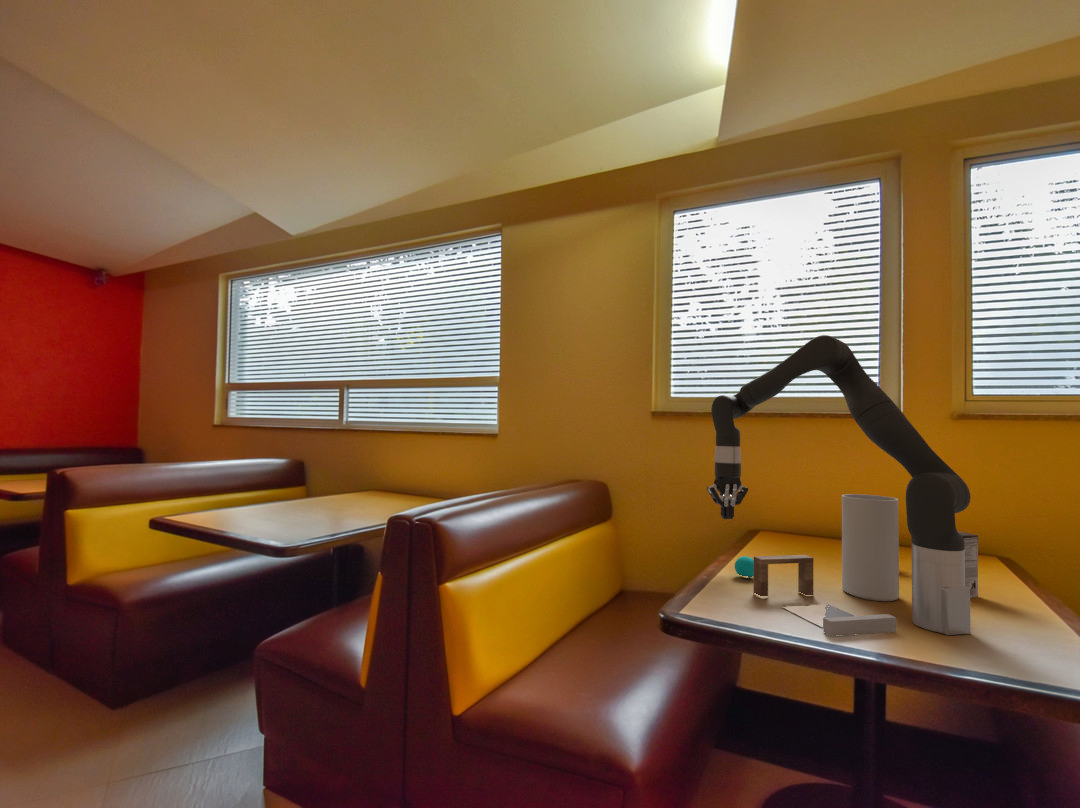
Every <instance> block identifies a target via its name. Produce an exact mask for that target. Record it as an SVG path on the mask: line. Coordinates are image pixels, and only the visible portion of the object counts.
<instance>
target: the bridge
mask: <svg viewBox="0 0 1080 808" xmlns="http://www.w3.org/2000/svg"><path fill="white" fill-rule="evenodd" d="M753 560H754V576H753V594H754V593H756V594H758V595H760V596H768V597H769V565H779V564H780V565H784V564H785V565H787V564H797V565H798V566H797V567H798V568H797V572H798V579H797V580H798V583H797V584H798V586H797V587H798V591H797V593H798V592H801V593H803V594H805V595H813V596H814V557H812V556H809V555H806V554H796V555H795V554H794V555H793V554H791V555H789V554H788V555H764V556H763V555H762V556H761V555H758V556H753Z"/></svg>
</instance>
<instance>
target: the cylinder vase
mask: <svg viewBox="0 0 1080 808" xmlns="http://www.w3.org/2000/svg"><path fill="white" fill-rule="evenodd" d="M899 519H900V517H899V498H896V497H893V496H882V495H873V494H860V493H858V494H857V493H852V494H851V493H848V494H847V493H845V494H842V495H841V587H842V590H843V591H844V592H845V593H846V592H847V594H848V593H849V595H850V594H851V596H853V597H856V598H859V599H863V600H869V601H876V602H892V601H896V600H899V598H900V541H899V540H900V538H899V537H900V536H899V535H900V533H899V532H900V527H899V524H900V523H899V522H900V521H899Z"/></svg>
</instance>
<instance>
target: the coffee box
mask: <svg viewBox="0 0 1080 808" xmlns="http://www.w3.org/2000/svg"><path fill="white" fill-rule="evenodd" d="M957 532H958V533H959V534H960V535H962V536H963V538H964V544H965V549H964V550H965V586H966V587H969V588H970V599H971V598H972V597H973V598H978V597H979V535H978V534H973V533H969V532H963V531H959V530H957Z"/></svg>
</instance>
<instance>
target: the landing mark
mask: <svg viewBox="0 0 1080 808" xmlns="http://www.w3.org/2000/svg"><path fill="white" fill-rule="evenodd" d="M827 604H828V605H826V607H825V609H826V613H825V616H826V617H824V618H833V617H849V616H855V615H854V614H852V613H850V612H848V611H846V610H844V609H840V608H839V607H837V606H834V605H832V604H830V603H827ZM831 605H832V606H831ZM828 606H829V607H828ZM827 608H828V609H827Z"/></svg>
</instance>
